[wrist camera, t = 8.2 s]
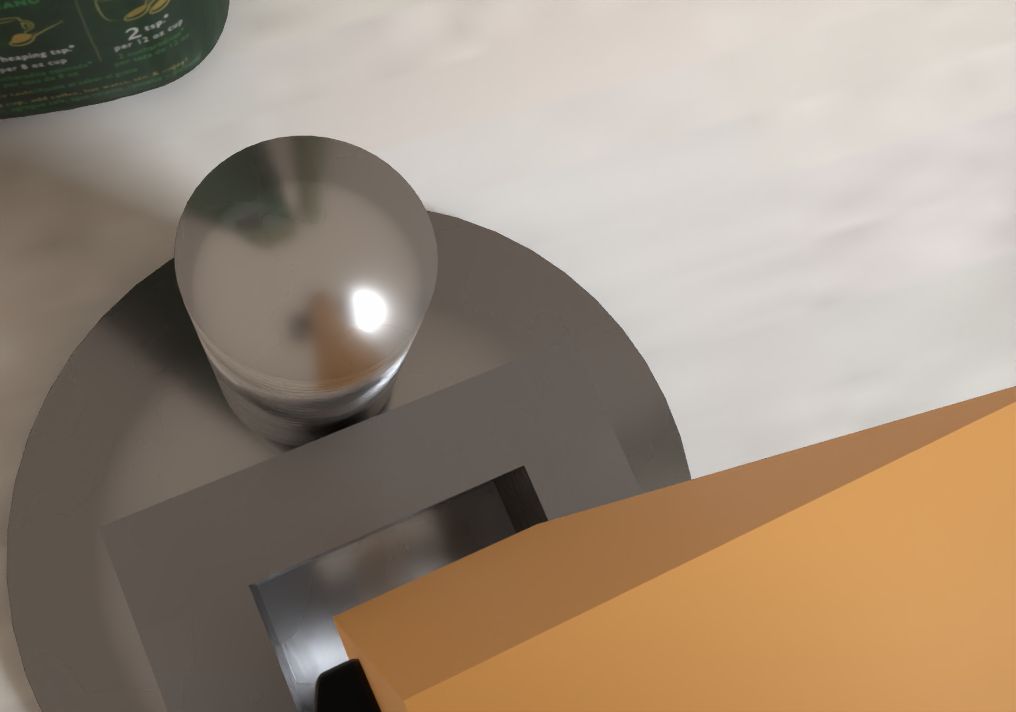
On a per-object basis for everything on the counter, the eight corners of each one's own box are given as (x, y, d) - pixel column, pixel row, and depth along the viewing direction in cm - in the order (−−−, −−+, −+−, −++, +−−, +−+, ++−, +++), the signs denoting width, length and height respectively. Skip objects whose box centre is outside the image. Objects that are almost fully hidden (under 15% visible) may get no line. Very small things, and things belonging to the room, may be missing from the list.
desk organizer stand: (791, 702, 23) (1030, 758, 16) (170, 1048, 19) (81, 1357, 11) (531, 140, 25) (630, -55, 18) (-81, 344, 21) (-299, 207, 13)
